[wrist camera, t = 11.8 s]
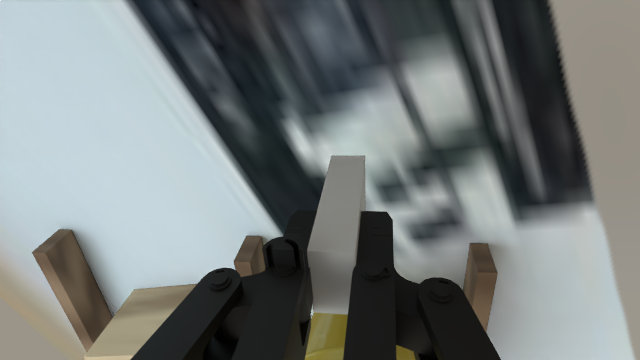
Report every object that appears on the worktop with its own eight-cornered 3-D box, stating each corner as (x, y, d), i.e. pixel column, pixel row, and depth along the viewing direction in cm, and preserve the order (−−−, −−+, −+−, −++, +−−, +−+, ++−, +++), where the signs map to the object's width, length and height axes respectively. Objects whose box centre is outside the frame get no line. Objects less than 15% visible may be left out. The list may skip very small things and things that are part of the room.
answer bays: (58, 229, 28) (27, 256, 26) (487, 243, 24) (499, 278, 21) (124, 364, 36) (105, 395, 33) (461, 395, 31) (468, 434, 28)
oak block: (134, 288, 30) (83, 357, 25) (203, 282, 29) (164, 353, 24) (167, 341, 33) (127, 412, 28) (232, 337, 32) (202, 412, 27)
